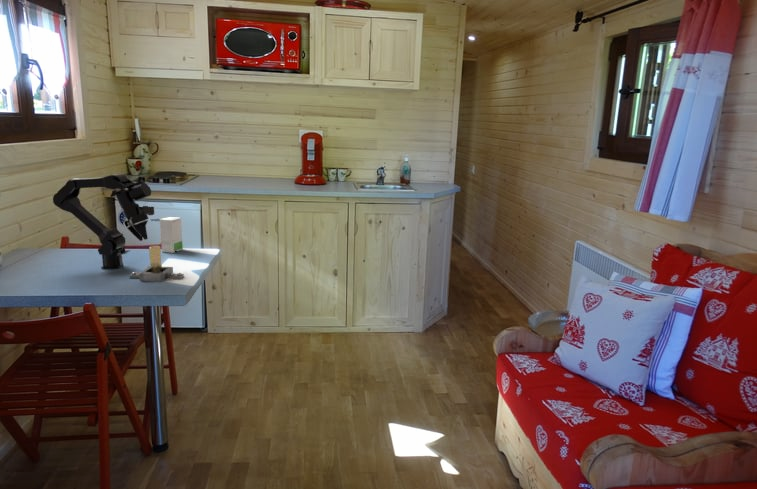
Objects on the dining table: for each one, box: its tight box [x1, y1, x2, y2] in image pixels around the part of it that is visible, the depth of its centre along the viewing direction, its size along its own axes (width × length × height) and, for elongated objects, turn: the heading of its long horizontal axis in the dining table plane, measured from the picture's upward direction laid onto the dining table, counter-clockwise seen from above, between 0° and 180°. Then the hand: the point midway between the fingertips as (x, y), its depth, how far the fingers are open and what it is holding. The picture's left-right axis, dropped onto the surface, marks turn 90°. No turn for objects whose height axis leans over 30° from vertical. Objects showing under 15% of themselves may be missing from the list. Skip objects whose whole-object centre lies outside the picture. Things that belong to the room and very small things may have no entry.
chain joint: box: [129, 265, 185, 282], centre depth 202 cm, size 20×9×3 cm, turn 93°
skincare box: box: [159, 216, 184, 254], centre depth 240 cm, size 8×7×16 cm
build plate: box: [120, 244, 132, 255], centre depth 235 cm, size 12×7×5 cm, turn 165°
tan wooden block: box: [148, 245, 163, 273], centre depth 201 cm, size 4×4×12 cm
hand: (143, 239), depth 209 cm, fingers open, 9 cm apart
